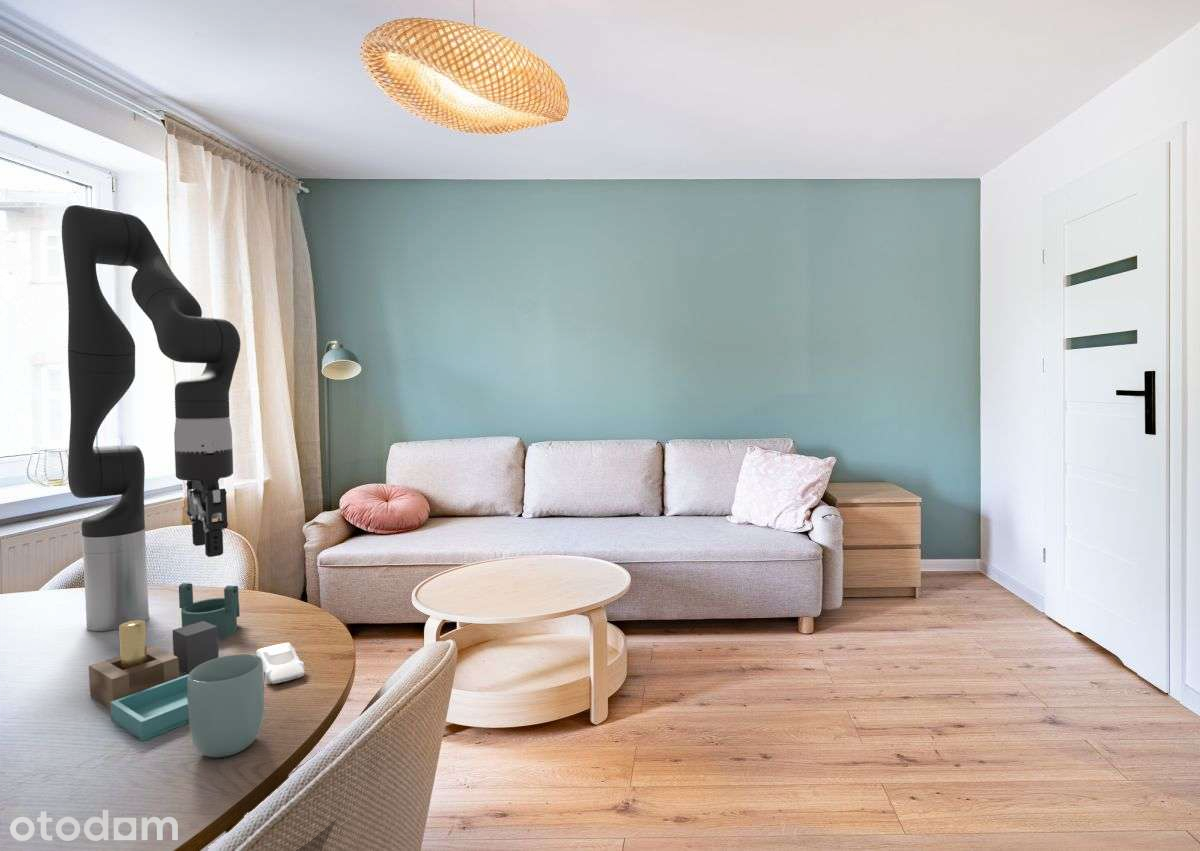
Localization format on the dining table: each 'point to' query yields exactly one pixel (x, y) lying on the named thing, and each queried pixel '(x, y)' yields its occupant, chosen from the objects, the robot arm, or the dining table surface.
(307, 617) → the dining table surface
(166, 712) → the tray
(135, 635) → the pin
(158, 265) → the robot arm
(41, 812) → the dining table surface
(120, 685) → the socket
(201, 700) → the cup
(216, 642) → the dark grey block
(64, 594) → the dining table surface
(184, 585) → the bracket
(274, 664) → the toy car
